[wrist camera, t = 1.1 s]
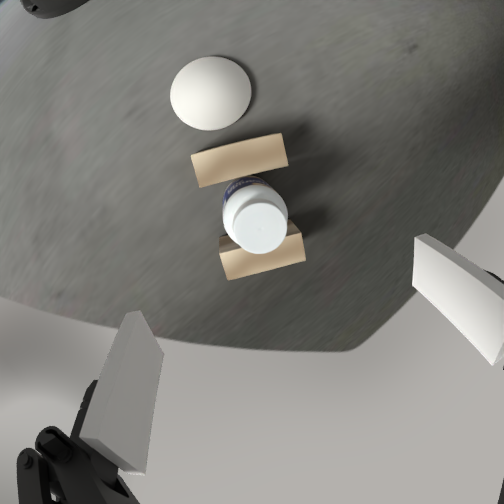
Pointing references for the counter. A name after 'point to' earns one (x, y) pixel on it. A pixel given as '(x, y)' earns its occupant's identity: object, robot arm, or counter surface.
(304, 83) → the counter surface
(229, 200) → the pill bottle
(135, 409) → the robot arm
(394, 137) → the counter surface
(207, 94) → the pad
